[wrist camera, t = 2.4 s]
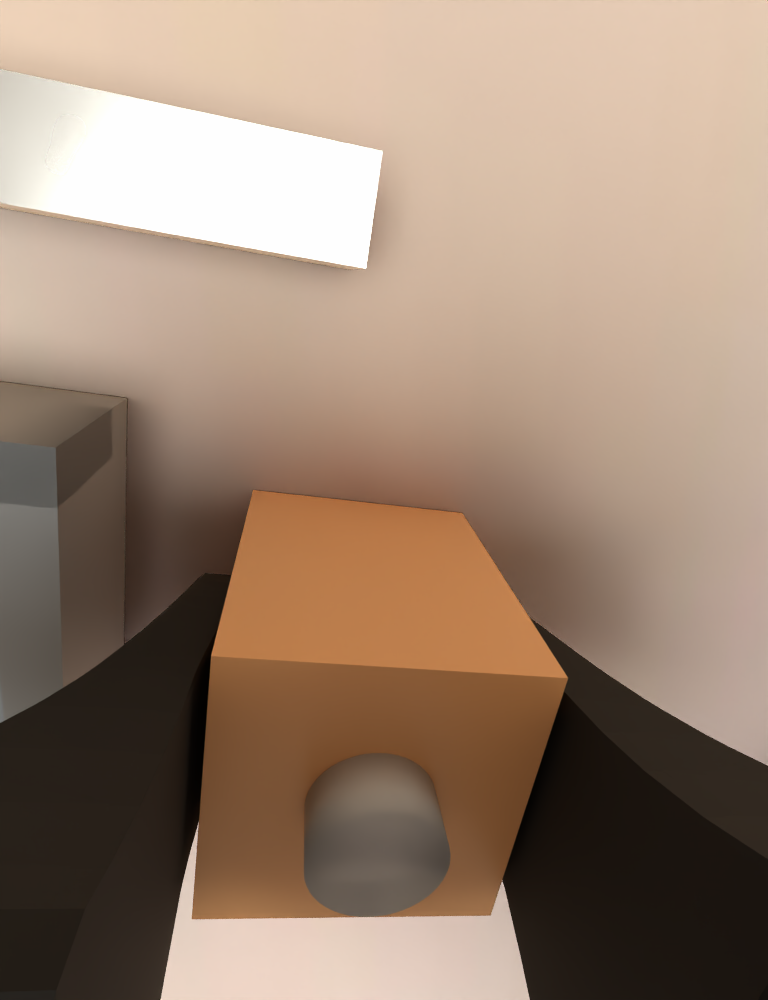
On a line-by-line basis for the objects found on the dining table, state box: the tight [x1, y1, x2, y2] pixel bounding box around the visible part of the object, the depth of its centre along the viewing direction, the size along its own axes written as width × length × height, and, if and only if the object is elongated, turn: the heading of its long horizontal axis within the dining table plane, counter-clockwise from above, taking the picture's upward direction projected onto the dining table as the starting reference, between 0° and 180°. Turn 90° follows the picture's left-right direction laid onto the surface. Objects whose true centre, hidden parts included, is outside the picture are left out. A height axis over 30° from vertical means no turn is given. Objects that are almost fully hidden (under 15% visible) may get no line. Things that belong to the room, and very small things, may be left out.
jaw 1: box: [192, 490, 568, 919], centre depth 9 cm, size 4×4×6 cm
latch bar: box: [0, 69, 383, 270], centre depth 7 cm, size 6×1×3 cm, turn 81°
